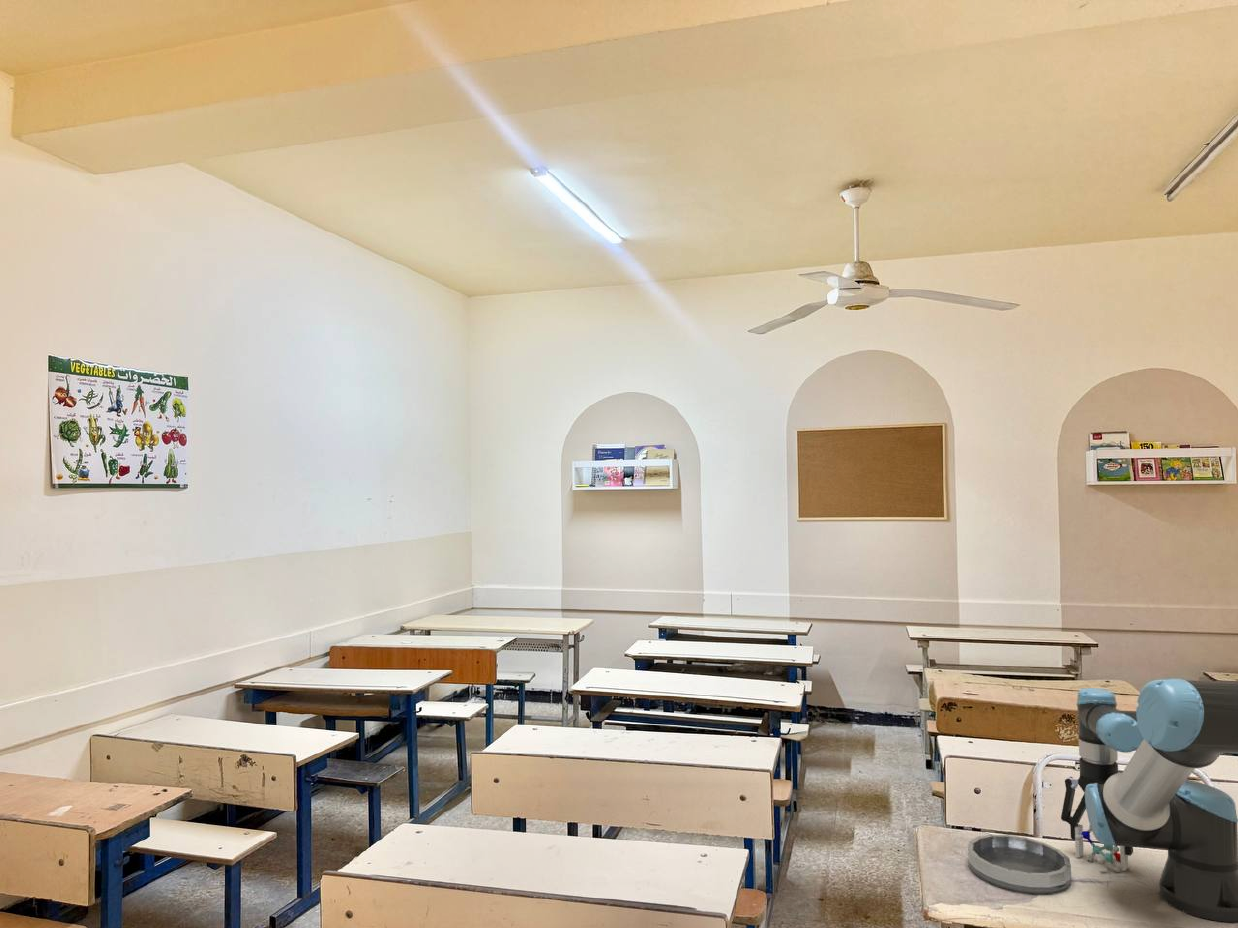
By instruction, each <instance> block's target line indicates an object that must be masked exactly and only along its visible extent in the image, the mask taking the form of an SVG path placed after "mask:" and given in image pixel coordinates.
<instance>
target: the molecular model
mask: <svg viewBox="0 0 1238 928" xmlns="http://www.w3.org/2000/svg"><path fill="white" fill-rule="evenodd" d="M1091 832H1092V830H1091V827H1090V825H1089V828H1088V829H1087V830H1083V832H1082V833H1081V835H1078V834H1077V835H1075V838H1076V840H1081V838H1083V840H1087V841H1088V843H1090V845H1091V846H1092V853H1091V854H1089V855H1087V856H1086V860H1087V861H1088V860H1089V862H1093V860H1094V857H1095V856H1096V855H1101V856H1103V857H1097V858H1096V862H1097V863H1098V864H1103V863H1104V862H1107V863H1110V864H1111V865H1112V868H1113V871H1114V872H1116V873H1120V872H1121V867H1120V866H1118V865H1116V863H1115V862H1114V858H1115V860H1117V862H1121V856H1120V847H1119V846H1117V847H1115V846H1112V845H1106V844H1103V846H1099V845H1096V844H1095V842H1093V840H1092V839H1091ZM1103 850H1105V851H1108V852H1109V853H1108V852H1106V853H1105V852H1103Z"/></svg>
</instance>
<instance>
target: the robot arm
mask: <svg viewBox="0 0 1238 928" xmlns="http://www.w3.org/2000/svg"><path fill="white" fill-rule="evenodd" d="M1076 700H1077V702H1076V707H1077V724H1078V725H1077V729H1078V755H1079V756H1080V758H1079V760H1078V761H1079V776H1078V777H1079V778H1074V777H1072V776H1069V777H1067V778H1065V779H1064V785H1065V793H1064V800H1063V806H1062V810H1061V816H1060V819H1061V821H1062V822H1066V823H1068V824H1069V826H1070V827H1069V828H1070V838H1071V840H1073V841H1075V844H1074V845H1075V857H1076V858H1079V857H1080V858H1081V857H1082V856H1083V855H1084V838H1081V840H1076V838H1075V835H1077V834H1078V835H1081V833H1082V832H1083V831H1084V827H1083V824H1079V823H1080V822H1081V819H1082V817H1083V816H1084V813H1085V812H1086V815H1087V818H1088V823H1089V826H1090V827H1091V830H1092V831H1091V832H1092V834H1093V837H1095V839H1096V841H1097V842H1098V843H1100V844H1102V845H1104V844H1106V845H1112V846H1113V847H1114V846H1115V847H1119V854H1120V856H1121V861H1120V871H1124V872H1125V871H1127V869H1128V868H1130V865H1129V863H1130V862H1129V856H1132V855H1133V854H1134V847H1135V848H1143V849H1145V848H1146V849H1147V848H1148V849H1157V850H1158V849H1160V850H1167V859H1166V861H1165V863H1164V867H1163V869H1162V873H1161V875H1160V878H1159V881H1158V890H1159V892H1158V893H1159V897H1161V899H1162V900H1163V901H1164V902H1165V903H1167V904H1168V905H1170V906H1171V907H1174V908H1175V909H1176V910H1178V911H1182V912H1184V913H1186V914H1188V915H1191V916H1195V917H1198V918H1202V919H1205V920H1212V921H1215V922H1216V921H1217V922H1224V923H1225V922H1227V923H1237V922H1238V815H1237V808H1236V807H1237V806H1236V802H1235V800H1234V799H1233V798H1232V796H1230V794H1228V793H1226V792H1225V791H1223V790H1221V789H1220V788H1216V787H1214V786H1211V785H1209V784H1206V783H1203V782H1199V781H1193V780H1190V779H1189V777H1190V776H1191V774H1192V773H1193V772H1194V771H1195V770H1196V769H1203V768H1205V767H1208V766H1210V765H1212V764H1214V763H1215V761H1216V760H1217V759H1218V758H1219V757H1220V756H1221V754H1238V681H1230V680H1229V681H1227V680H1226V681H1225V680H1224V681H1223V680H1221V681H1220V680H1195V679H1194V680H1193V679H1192V680H1190V679H1189V680H1187V679H1182V678H1174V677H1173V678H1167V679H1156V680H1155V679H1154V680H1152V681H1151V680H1150V681H1149V682H1147V683H1146V684H1145V685H1144V686H1143V688H1141V689H1140V692H1139V695H1138V697H1137V704H1138V705H1137V706H1136V708H1135V709H1136V710H1121V709H1120V710H1119V709H1118V708H1117V706H1118V704H1117V701H1116V695H1115V693H1114V692H1113V691H1111V690H1108V689H1103V688H1095V687H1086V688H1085V687H1084V688H1081V689H1079V690H1078V691H1077V699H1076ZM1118 752H1120V753H1124V754H1127V753H1128V754H1129V753H1132V752H1134V753H1133V755H1132V757H1130V760H1129V762H1128V763H1127V765H1126V766H1125V767H1124V770H1123V771H1122V772H1119V763H1118V762H1117V761H1118V760H1119V758H1118V757H1119V755H1118ZM1078 786H1079V787H1080V788H1081V790H1082V791H1083V795H1082V797H1081V799H1080V802H1079V804H1078V805H1077V807H1076V810H1075V812H1074V813H1073V815H1072V810H1073V804H1074V799H1075V793H1076V789H1077V788H1078ZM1090 827H1089V828H1090Z"/></svg>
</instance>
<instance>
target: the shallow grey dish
mask: <svg viewBox="0 0 1238 928" xmlns="http://www.w3.org/2000/svg"><path fill="white" fill-rule="evenodd" d="M967 854H968V855H967V856H968V857H967V859H968V861H967V862H968V868H969V870H970V871H971V872H972V874H974V875H975V876H976V877H977V878H979V879H980V880H981V881H983V882H985V883H986V884H989V885H992V886H994V887H996V888H999V889H1003V890H1006V891H1008V892H1009V891H1010V892H1014V893H1018V894H1019V893H1020V894H1024V895H1025V894H1026V895H1035V896H1036V895H1037V896H1042V895H1043V896H1046V895H1055V894H1060V893H1063V892H1065V891H1066V890H1067V889H1069V888H1070V887H1071V884H1072V883H1071V882H1072V881H1071V880H1072V865H1071V861H1070V857H1068V855H1066V854H1065V853H1064V852H1063V851H1062V850H1061V849H1058V848H1056V847H1054V846H1052V845H1050V844H1048V843H1045V842H1042V841H1039V840H1035V839H1033V838H1029V837H1024V836H1018V835H1011V834H987V835H986V834H985V835H982V836H976V837H974V838H973V839H971V840H970V841H969V842H968V845H967Z"/></svg>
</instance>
